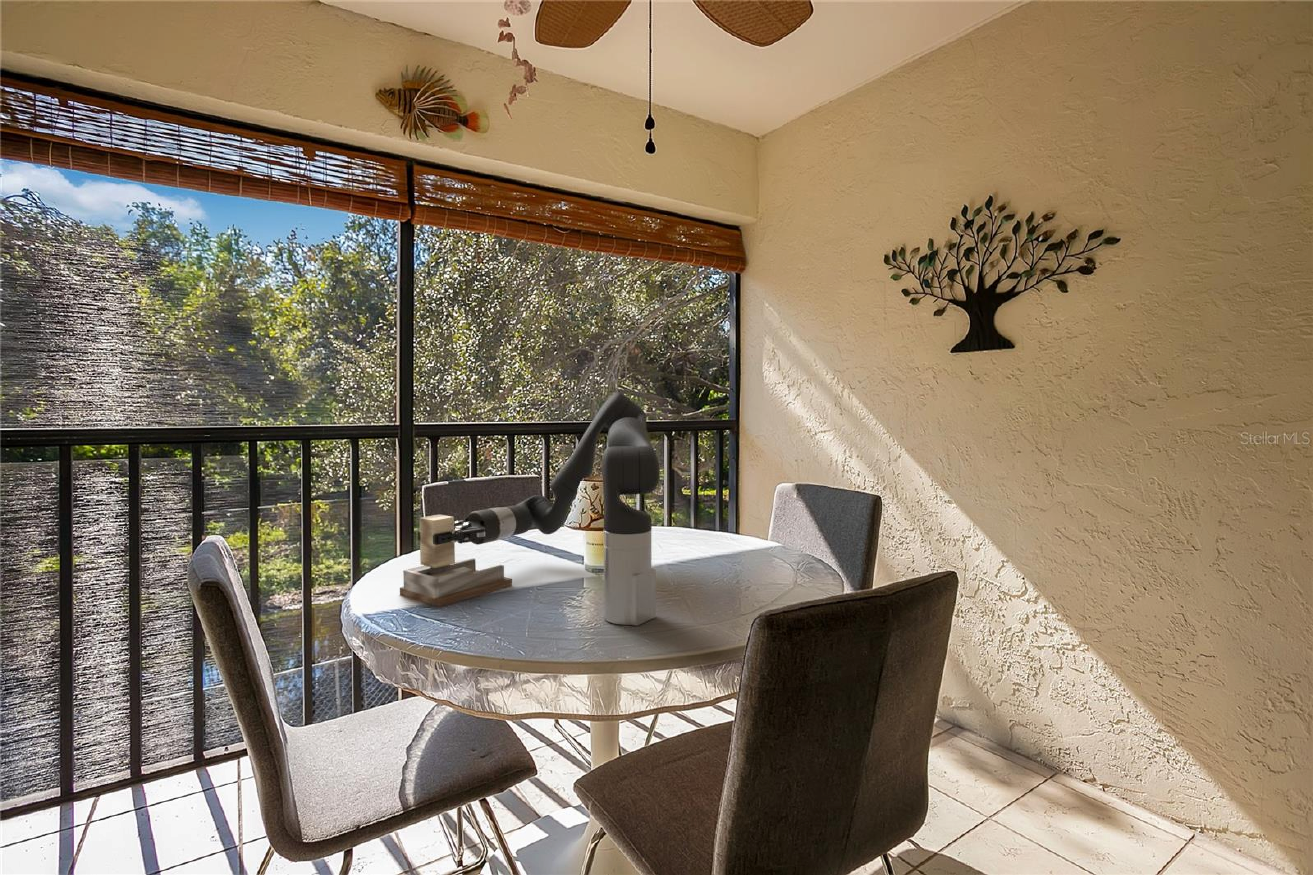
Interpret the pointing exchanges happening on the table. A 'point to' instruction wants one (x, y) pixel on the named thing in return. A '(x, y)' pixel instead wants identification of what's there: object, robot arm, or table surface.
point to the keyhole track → (452, 582)
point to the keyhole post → (430, 552)
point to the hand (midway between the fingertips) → (426, 538)
